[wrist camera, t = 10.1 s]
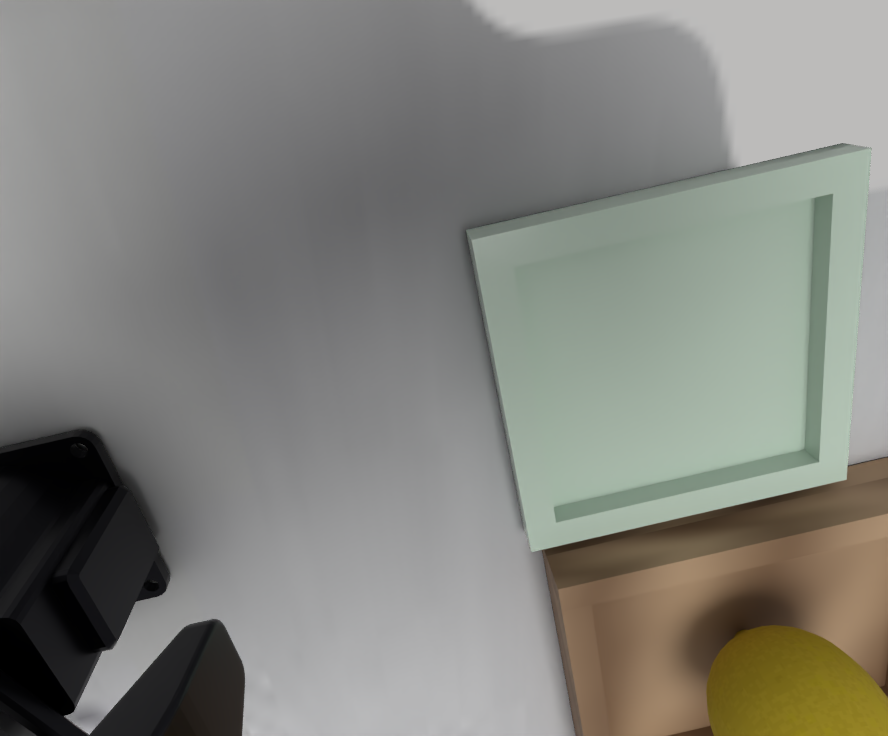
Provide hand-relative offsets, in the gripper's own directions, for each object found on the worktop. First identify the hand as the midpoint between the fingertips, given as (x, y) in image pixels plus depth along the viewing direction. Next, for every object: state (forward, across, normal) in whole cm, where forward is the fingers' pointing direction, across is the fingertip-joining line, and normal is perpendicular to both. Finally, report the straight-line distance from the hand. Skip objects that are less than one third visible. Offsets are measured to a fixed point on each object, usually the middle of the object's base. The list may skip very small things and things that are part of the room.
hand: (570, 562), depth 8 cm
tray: (+12, -8, +16) cm, 22 cm away
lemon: (+11, -8, +16) cm, 21 cm away
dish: (+12, -6, +4) cm, 14 cm away
